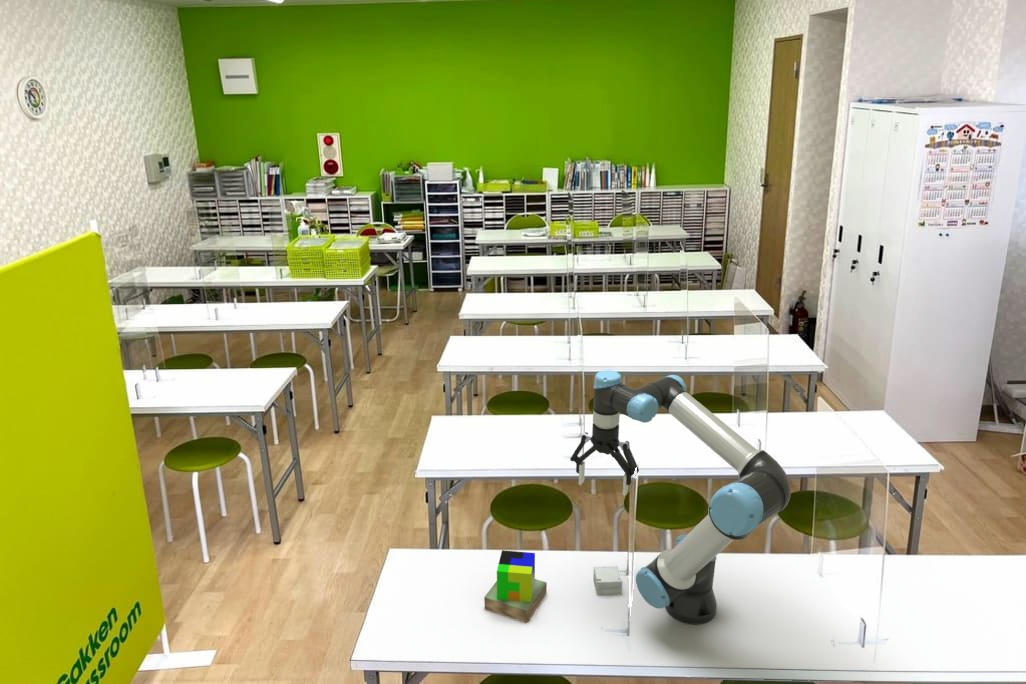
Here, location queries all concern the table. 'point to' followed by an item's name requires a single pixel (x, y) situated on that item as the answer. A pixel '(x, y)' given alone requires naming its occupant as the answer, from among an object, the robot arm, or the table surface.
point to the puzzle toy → (516, 576)
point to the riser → (516, 602)
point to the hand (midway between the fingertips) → (603, 488)
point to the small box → (607, 580)
